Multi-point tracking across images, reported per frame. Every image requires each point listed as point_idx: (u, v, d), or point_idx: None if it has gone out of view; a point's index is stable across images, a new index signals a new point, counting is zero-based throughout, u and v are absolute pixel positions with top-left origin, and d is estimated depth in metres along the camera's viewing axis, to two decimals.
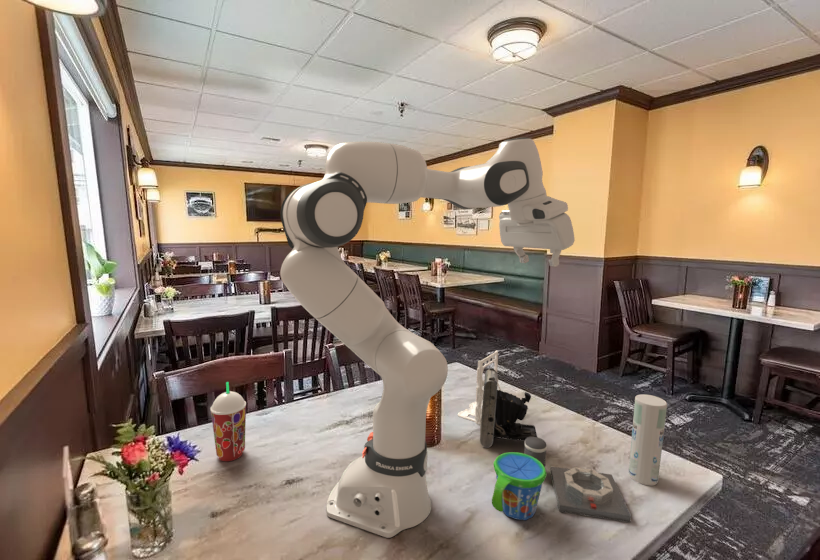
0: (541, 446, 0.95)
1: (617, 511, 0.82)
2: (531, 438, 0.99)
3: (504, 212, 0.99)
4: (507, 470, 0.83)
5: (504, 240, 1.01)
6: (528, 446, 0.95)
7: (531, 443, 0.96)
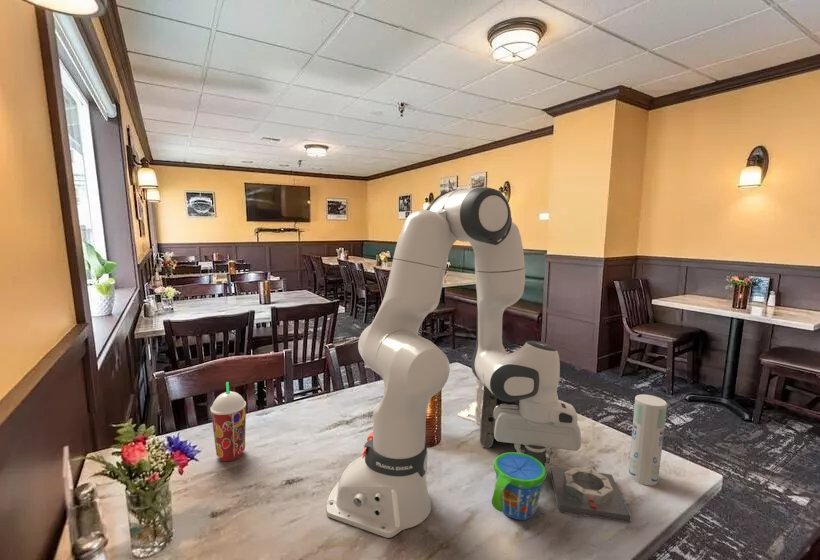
0: (541, 446, 0.95)
1: (617, 511, 0.82)
2: None
3: (504, 406, 0.97)
4: (507, 470, 0.83)
5: (501, 435, 0.96)
6: (528, 446, 0.95)
7: None
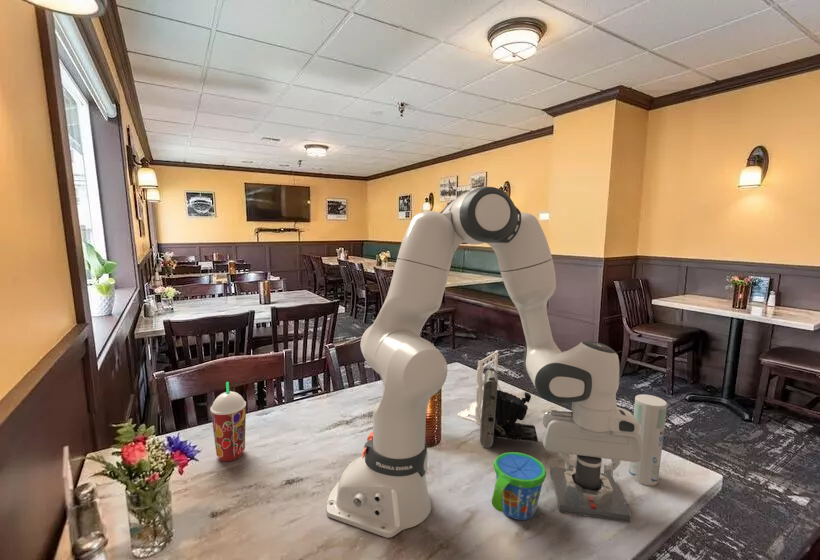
0: (596, 460, 0.87)
1: (617, 511, 0.82)
2: None
3: (556, 413, 0.88)
4: (507, 470, 0.83)
5: (552, 445, 0.88)
6: (582, 460, 0.87)
7: (584, 457, 0.88)
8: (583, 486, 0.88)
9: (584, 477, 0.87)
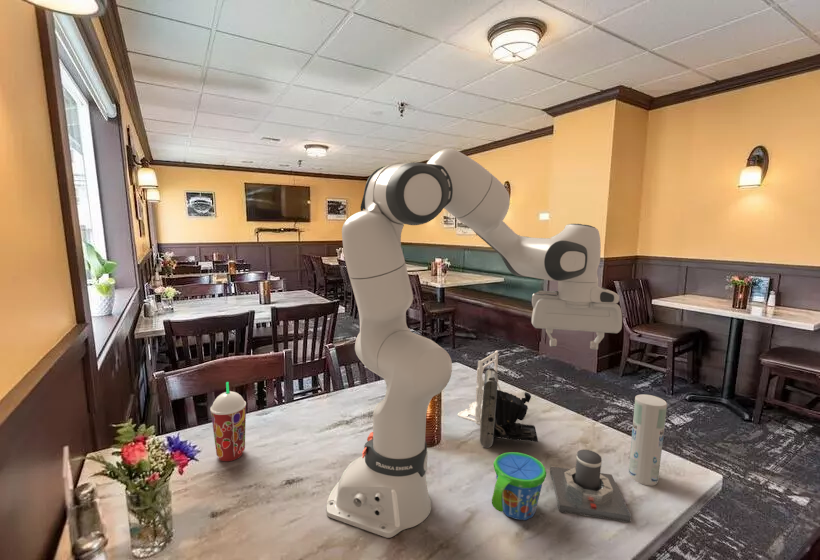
0: (596, 460, 0.87)
1: (617, 511, 0.82)
2: (583, 451, 0.90)
3: (543, 293, 0.96)
4: (507, 470, 0.83)
5: (539, 321, 0.96)
6: (582, 460, 0.87)
7: (584, 457, 0.88)
8: (583, 486, 0.88)
9: (584, 477, 0.87)
